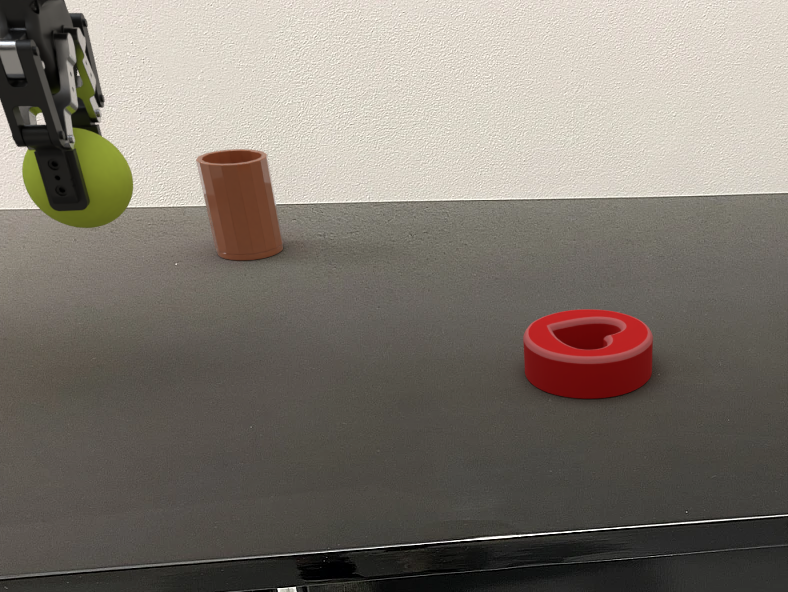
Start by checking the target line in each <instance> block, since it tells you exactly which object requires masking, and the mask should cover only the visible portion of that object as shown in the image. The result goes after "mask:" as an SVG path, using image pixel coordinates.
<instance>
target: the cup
mask: <svg viewBox="0 0 788 592" xmlns="http://www.w3.org/2000/svg"><path fill="white" fill-rule="evenodd" d="M195 161H196V162H195V163H196V167H197V171H198V176H199V181H200V184H201V189H202V194H203V198H204V204H205V207H206V208H205V209H206V212H207V216H208V223H209V226H210V231H211V236H212V240H213V245H214V248H215V251H216V255H217V256H218V257H219V258H221V259H225V260H230V261H254V260H262V259H265V258H269V257H273V256H276V255H278V254H279V253H281V252H282V251H283V250H284V242H283V234H282V229H281V224H280V217H279V212H278V207H277V200H276V196H275V190H274V185H273V179H272V173H271V168H270V163H269V157H268V153H266V152H264V151H263V150H259V149H258V150H257V149H247V148H235V149H234V148H231V149H222V150H215V151H210V152H206V153H203V154H201V155H198V156H197V157H196V159H195Z"/></svg>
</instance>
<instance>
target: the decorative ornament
mask: <svg viewBox="0 0 788 592" xmlns="http://www.w3.org/2000/svg"><path fill="white" fill-rule="evenodd" d="M522 340H523V341H522V342H523V361H524V375H525V377H526V379H527V380H528V382H529V383H530V384H532V385H533V386H534V387H535V388H537V389H539V390H541V391H542V392H545V393H548V394H550V395H555V396H560V397H564V398H570V399H571V398H572V399H583V400H584V399H587V400H588V399H606V398H613V397H618V396H623V395H625V394H628V393H632V392H634V391H636V390H638V389H640V388H642V387H643V386H644V385H645V384H646V383H647V382H648V381H649V380H650V379H651V377H652V375H653V352H654V351H653V348H654V346H653V345H654V336H653V332H652V330H650V328H649V326H648V325H647V324H646V323H645V322H643V321H642V320H640V319H638V317H634V316H632V315H629V314H626V313H623V312H619V311H613V310H608V309H591V308H590V309H587V308H586V309H584V308H583V309H571V310H569V309H568V310H564V311H563V310H562V311H558V312H554V313H550V314H547V315H545V316H542V317H540V318H538V319H536V320H534V321H533V322H531V323H530V324H529V325H528V327H527V328H526V329H525V331H524V334H523V337H522Z"/></svg>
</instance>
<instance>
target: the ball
mask: <svg viewBox="0 0 788 592" xmlns="http://www.w3.org/2000/svg"><path fill="white" fill-rule="evenodd" d="M72 129H73V136H74V138H75V143H74V144H75V147H74V148H76V151H77V155H78V159H79V162H80V166H81V170H82V173H83V177H84V181H85V184H86V188H87V192H88V195H89V199H90V203H89V205H88V206H87V207H86V209H84V210H77V211H56V210H54V209H53V208H52V207H51V206H50V204H49V201H48V198H47V194H46V191H45V188H44V184H43V181H42V177H41V174H40V171H39V167H38V164H37V161H36V157H35V154H34V151H36V150H34V151H30V150H28V149H27V150H26V151H25V154H24V157H23V160H22V169H21V172H22V173H21V174H22V180H23V184H24V187H25V190H26V192H27V194H28V196H29V197H30V199H31V200H32V202H33V203H34V205H36V207H37V208H38V209H39V210H40V211H41V212H43V213H44V214H45V215H46V216H48V217H49V218H51V219H53V220H54V221H56V222H58V223H60V224H63V225H66V226H69V227H72V228H79V229H94V228H100V227H102V226H106V225H108V224H110V223H112V222H114V221H116V219H117V220H118V218H120V217H121V216H122V214H123V213H124V212H125V211H126V209H128V207H129V205H130V202H131V200H132V197H133V194H134V178H133V174H132V169H131V167H130V165H129V163H128V161H127V159H126V157H125V155H123V153H122V152H121V151H120V150H119V148H118V147H117V146H115V144H114V143H112V142H111V141H110V140H108V138H105V137H104V136H103V135H102V136H100V135H98V134H96V133H94V132H91V131H88V130H85V129H80V128H72Z"/></svg>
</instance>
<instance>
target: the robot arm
mask: <svg viewBox="0 0 788 592" xmlns="http://www.w3.org/2000/svg"><path fill="white" fill-rule="evenodd" d="M88 27H89V25H88V20H87V18H86V17H85V15H84V14H83V12H69V10H68V6H67V4H66V1H65V0H0V103H1V106H2V109H3V112H4V115H5V118H6V121H7V125H8V127H9V130H10V132H11V138H12V140H13V141H14V144H15V145H16V147H18V148H27V150H30V151H34V150H36V151H34V154H35V157H36V161H37V164H38V167H39V171H40V174H41V177H42V181H43V184H44V188H45V191H46V194H47V198H48V201H49V204H50V206H51V207H52V208H53V209H54V210H56V211H77V210H84V209H86V207H87V206H88V205H89V203H90V199H89V195H88V192H87V188H86V184H85V181H84V177H83V173H82V170H81V166H80V162H79V159H78V155H77V151H76V148H74V147H75V144H74V143H75V138H74V136H73V129H72V128H80V129H85V130H88V131H91V132H94V133H96V134H98V135H100V136H102V137H103V134H102V131H101V127H100V123H102V118H103V115H102V113H103V112H102V111H101V109H100V108H104V107H105V102H106V101H105V100H106V99H105V96H104V94H103V91H102V86H101V83H100V78H99V73H98V68H97V65H96V64H97V63H96V60H95V56H94V51H93V46H92V43H91V38H90V33H89V29H88ZM78 74H79V75H78ZM39 114H42V117H43V120H44V123H45V124H38V121H37V116H38V115H39Z"/></svg>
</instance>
